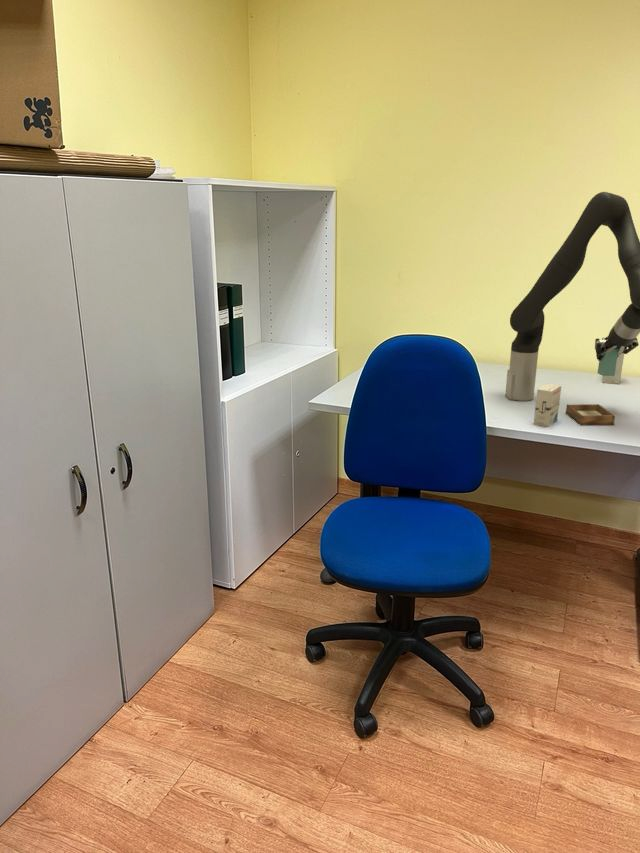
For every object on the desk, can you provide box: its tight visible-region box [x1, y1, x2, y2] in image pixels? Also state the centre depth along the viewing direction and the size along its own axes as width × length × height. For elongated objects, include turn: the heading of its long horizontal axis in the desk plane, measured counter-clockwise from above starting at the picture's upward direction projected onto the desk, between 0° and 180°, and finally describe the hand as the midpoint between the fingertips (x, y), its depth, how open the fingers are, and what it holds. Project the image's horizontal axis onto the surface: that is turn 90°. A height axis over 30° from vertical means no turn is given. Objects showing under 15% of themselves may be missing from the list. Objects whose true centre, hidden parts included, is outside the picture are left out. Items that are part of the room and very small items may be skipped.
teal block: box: [597, 337, 618, 377], centre depth 212 cm, size 4×4×12 cm
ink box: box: [533, 383, 562, 427], centre depth 203 cm, size 9×5×12 cm, turn 141°
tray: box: [565, 403, 616, 426], centre depth 207 cm, size 11×13×3 cm
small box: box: [601, 353, 625, 385], centre depth 250 cm, size 8×6×13 cm
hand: (605, 358), depth 214 cm, fingers closed on teal block, 4 cm apart
